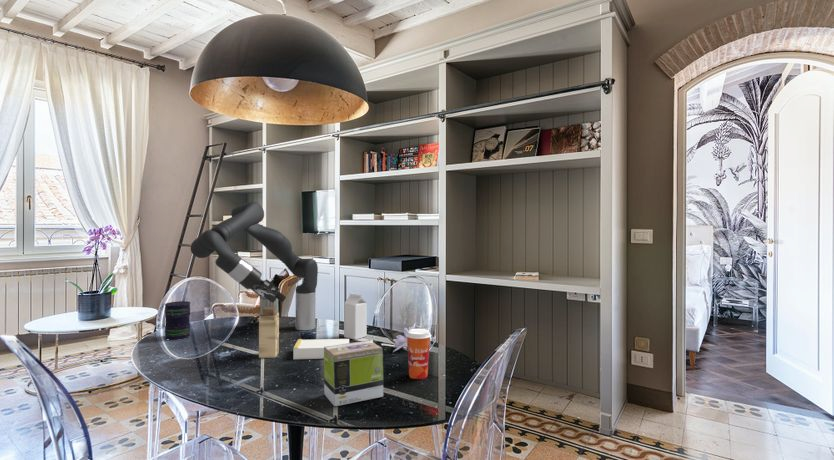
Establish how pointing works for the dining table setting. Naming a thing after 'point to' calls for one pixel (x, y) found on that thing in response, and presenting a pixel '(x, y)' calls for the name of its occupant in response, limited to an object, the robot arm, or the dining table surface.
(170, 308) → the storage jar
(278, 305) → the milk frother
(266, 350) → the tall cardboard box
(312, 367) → the dining table surface
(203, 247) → the robot arm
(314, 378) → the dining table surface
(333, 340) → the white flat box
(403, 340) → the water lily
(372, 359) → the tea box
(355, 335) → the milk carton
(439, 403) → the dining table surface
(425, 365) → the coffee cup
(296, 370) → the dining table surface
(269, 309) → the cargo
